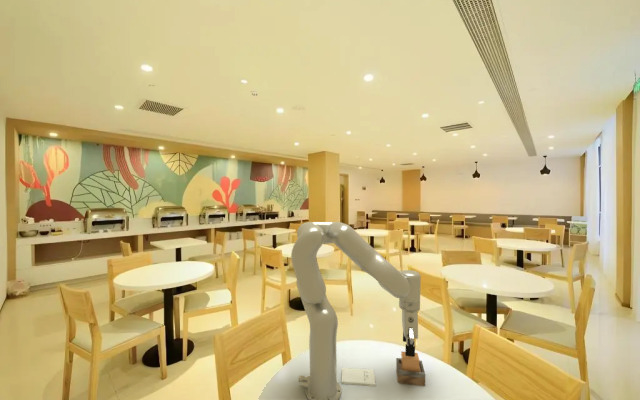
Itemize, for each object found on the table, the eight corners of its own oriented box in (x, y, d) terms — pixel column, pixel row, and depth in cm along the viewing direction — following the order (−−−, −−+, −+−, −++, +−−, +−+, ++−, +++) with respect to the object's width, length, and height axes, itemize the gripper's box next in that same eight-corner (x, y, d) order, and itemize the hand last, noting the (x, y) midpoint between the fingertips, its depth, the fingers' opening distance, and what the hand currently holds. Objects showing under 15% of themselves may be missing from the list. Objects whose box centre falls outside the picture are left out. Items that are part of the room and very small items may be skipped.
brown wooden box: (397, 382, 101) (397, 370, 101) (396, 368, 109) (396, 357, 109) (425, 386, 99) (425, 374, 99) (421, 371, 107) (421, 360, 107)
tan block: (402, 372, 102) (402, 358, 102) (401, 365, 107) (401, 351, 107) (419, 374, 101) (419, 360, 101) (417, 366, 106) (417, 352, 105)
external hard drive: (342, 371, 109) (373, 373, 108) (341, 385, 101) (375, 387, 100) (342, 367, 109) (373, 369, 108) (341, 381, 101) (375, 383, 100)
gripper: (423, 314, 94) (422, 363, 94) (416, 296, 111) (415, 338, 111) (401, 312, 96) (400, 360, 96) (397, 294, 113) (396, 335, 113)
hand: (408, 348), depth 104 cm, fingers open, 9 cm apart
